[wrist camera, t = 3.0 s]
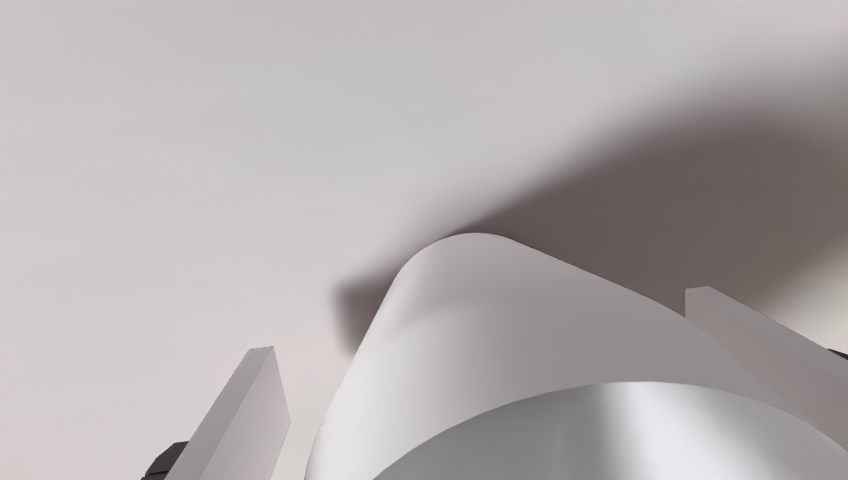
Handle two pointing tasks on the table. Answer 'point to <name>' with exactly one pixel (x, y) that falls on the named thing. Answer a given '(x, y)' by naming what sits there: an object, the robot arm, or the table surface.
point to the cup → (550, 384)
